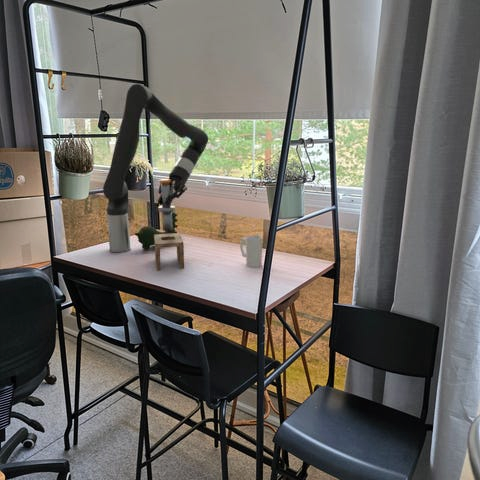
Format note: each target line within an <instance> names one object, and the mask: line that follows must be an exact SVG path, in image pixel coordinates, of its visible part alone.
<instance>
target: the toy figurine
mask: <svg viewBox="0 0 480 480" xmlns="http://www.w3.org/2000/svg"><path fill="white" fill-rule="evenodd" d="M176 217H178V214H177V213H176V212H175V211H173V212H172V226H173V230H171V231H159V230H157V229H156V228H155V227H154V226H150V225H145V226H143V227H141V228H140V229H139V231H138V232H134V235H135V236H136V237H137V241H138V242H139V243H140V244H141V249H143V250H145V251H149V250H150V249H151V247H153V246H155V242H154V235H155V234H172V233H178V232H177V231H176V230H175V229H177V228H178V226H179V225H177V224H176V223H177V222H178V218H176Z"/></svg>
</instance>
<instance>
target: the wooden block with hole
mask: <svg viewBox="0 0 480 480" xmlns="http://www.w3.org/2000/svg"><path fill="white" fill-rule="evenodd" d="M154 242H155V245H154V253H155V254H154V255H155V258H154V259H155V266H156V271H162V266H161V263H162V262H161V248H162V249H163V248H176V259H177V262H178V264H179V269H185V249H184V247H185V246H184V241H183V238H182V236H181V233H180V232H177V233H172V234H155V235H154Z"/></svg>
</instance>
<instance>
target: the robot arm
mask: <svg viewBox="0 0 480 480" xmlns="http://www.w3.org/2000/svg"><path fill="white" fill-rule="evenodd" d="M123 110H124V111H123V115H122V118H121V123H120V126H119V131H118V133H117V138H116V141H115V145H114V149H113V153H112V157H111V163H110V168H109V171H108V174H107V176H106V179H105V181H104V184H103V187H102V192H103V195H104V197H105V198H106V199H107V200H108V203H107V208H106V213H107V214H106V216H107V225H108V226H107V228H108V245H109V253H111V252H113V253H118V252H119V253H122V252H123V253H124V252H128V251H130V250H131V236H130V225H129V224H130V223H129V204H130V203H129V189H128V185H127V183H126V181H125V180H126V176H127V172H128V170H129V168H130V167H131V164H132V163H133V160H134V159H135V156H136V153H137V149H138V146H139V141H140V121H141V117H142V114H143V111H144V110H145V111H147V112H149V113H151V114H152V115H154V116H155V117H156V118H158V119H159V121H160V122H161V123H163V125H164V126H166V128H167V129H169V130H170V131H171V132H173V134H175V135H176V136H178V137H179V138H181V139H185V138H188V139H190V142H189V143H188V146H187V147H186V149H184V151H183V152H182V153H181V155H180V157H179V159H178V160H177V161H176V163H175V164H174V166H173V167H172V168H171V171H170V172H169V175H168V176H169V177H168V179H171V183H170V196H168V198H167V199H166V201H165V204H166V205H167V206H169V205H170V204H171V205H172V202H173V200H175V199H176V198H177V199H179V198H180V197H181V196H182V195H183V194H184V193H185V192H186V191H187V190H188V187H187V185H186V183H187V181H188V180H189V178H190V177H191V175H192V173H193V170H194V169H195V166H196V165H197V163H198V161H199V159H200V157H201V156H202V154H203V152H204V151H205V149H206V147H207V145H208V142H209V136H208V134H207V132H206V131H204V130H203V129H201V128H200V127H198V126H195V125H193V124H190V123H189V122H187V121H186V120H185V119H184V118H183V117H181V116H180V115H178V114H177V113H176V112H175V111H173V110H172V109H170V108H169V107H167V106H166V105H165V104H164V103H163V102H162V101H160V100H159V98H158V97H157V96H156V95H155V94H154V93H153V92H152V91H151V89H150V88H149V87H147V86H146V85H143V84H140V83H134V84H132V85H130V87H129V88H128V90H127V91H126V97H125V105H124V109H123ZM157 192H158V194H159V195H160V196H159V198H158V199H157V204H158V205H159V206H162V190H161V183H160V182H159V188H158V191H157Z"/></svg>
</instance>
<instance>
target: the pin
mask: <svg viewBox="0 0 480 480" xmlns="http://www.w3.org/2000/svg"><path fill="white" fill-rule="evenodd" d="M160 183H161V190H162V205H159V206H158V207H157V208H158V209H157V211H158V212H160V213H161V219H162V231H163V232H165V231H171V230H173V226H172V212H175V211H176V206H175V205H172V203H171V204H170V205H169V206H167V205H166V204H165V201H166V199H167V198H168V196H170V183H171V179H169V178H164V179H163V178H161V179H159V184H160Z"/></svg>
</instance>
